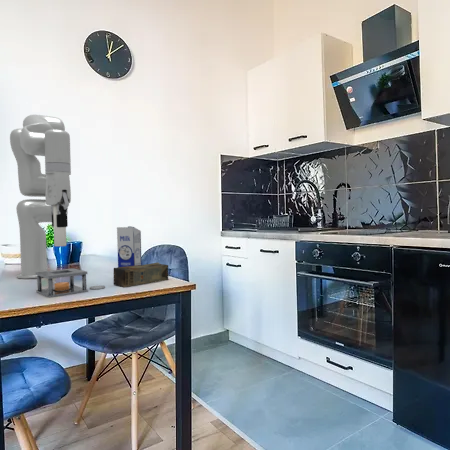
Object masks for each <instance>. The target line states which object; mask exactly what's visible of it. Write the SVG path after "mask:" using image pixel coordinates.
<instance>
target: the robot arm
mask: <svg viewBox="0 0 450 450" xmlns="http://www.w3.org/2000/svg"><path fill="white" fill-rule="evenodd" d="M9 143H10V148H11V152H12V153H13V155H14V158H15V160H16V163H17V164H16V165H17V177H18V188H19V193H20V194H21V195H22V196H25V197H33V198H34V197H36V199H35V198H34V199H33V198H29V199H23V200H20V201H19V202H18V203H17V204H16V214H17V216H16V217H17V219H18V220H17V221H18V228H19V247H20V248H19V249H20V273H18V274H17V275H16V277H17V278H18V279H37V275H36V272H44V271H48V264H47V263H48V261H47V259H48V258H47V256H48V255H47V234H46V231H45V229H44V228H43V227H42V226H41V225H40V224H42V223H51V227H52V228H54V217H53V205H56V204H57V213H58V215H56V218H57V227H66V228H67V227H68V226H69V225H68V223H69V222H68V209H69V206H70V204H71V201H72V195H71V194H72V191H71V181H70V175H72V170H71V169H72V166H71V163H72V162H71V161H72V160H71V137H70V134H69V132H68V131H66V127H65V124H64V122H63V120H62V119H61V118H59V117H56V116H48V115H41V114H30V115H27V116H25V118H24V119H23V121H22V127H21V128H15V129H13V130H11V132H10V134H9ZM37 156H38V157H44V168H45V169H44V170H45V172H44V173H42V170H41V169H42V167H41V162H40V160H39V159H38V158H37ZM37 197H38V199H37ZM42 197H43V198H45V199H41V198H42ZM39 198H40V199H39ZM59 202H63V204H59ZM60 207H61V208H60ZM39 223H40V224H39Z"/></svg>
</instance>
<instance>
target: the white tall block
mask: <svg viewBox="0 0 450 450" xmlns="http://www.w3.org/2000/svg"><path fill="white" fill-rule="evenodd" d="M59 204H63V202H59ZM60 208H61V207H60ZM56 215H58V213H57V204H56V205H53V217H54V227H53V241H54V243H53V246H54V247H66V246H67V227H57V218H56Z"/></svg>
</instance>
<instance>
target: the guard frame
mask: <svg viewBox="0 0 450 450" xmlns="http://www.w3.org/2000/svg"><path fill="white" fill-rule="evenodd" d="M36 275H37V278H36V281H37V282H36V283H37V287H36V288H37V290H36V289H35V291H36V293H37V294H39V295H42V296H45V297H47V298H54V297H61V296H66V295H73V294H81V293H86V292H89V290H88V288H87V275H88V271H87V270H82V269H77V268H73V267H71V268H64V269H56V270H55V269H54V270H53V269H52V270H47V271H44V272H36ZM76 276H81V277H82V278H81V284H82V287H81V286H78V285H75V280H74V279H75V277H76ZM67 277H69V289H68V290H63V291H55V288H54V282H53V279H59V278H67ZM42 278H44V279H47V284H48V285H47V286H48V288H43V287H42Z"/></svg>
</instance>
